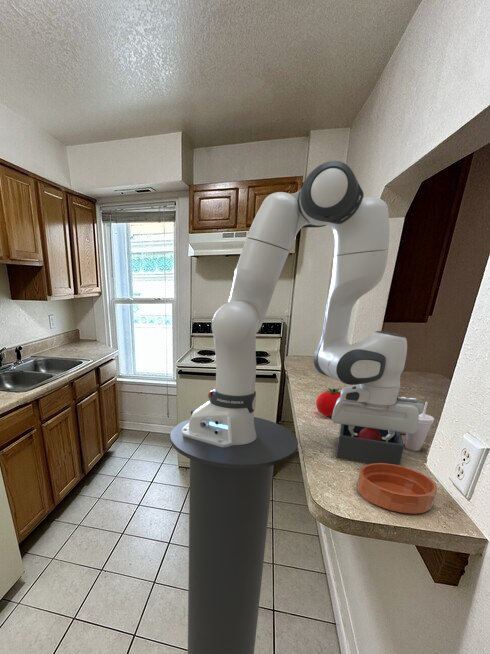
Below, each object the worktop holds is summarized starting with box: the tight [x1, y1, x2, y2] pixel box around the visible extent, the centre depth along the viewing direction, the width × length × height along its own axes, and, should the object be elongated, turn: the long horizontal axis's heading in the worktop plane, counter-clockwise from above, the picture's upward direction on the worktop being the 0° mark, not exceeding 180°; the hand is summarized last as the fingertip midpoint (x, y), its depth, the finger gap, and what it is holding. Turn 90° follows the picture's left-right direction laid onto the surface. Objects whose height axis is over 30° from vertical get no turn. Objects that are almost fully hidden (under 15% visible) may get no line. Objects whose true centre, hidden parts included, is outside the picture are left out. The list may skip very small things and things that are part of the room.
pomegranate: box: [357, 428, 382, 441], centre depth 97 cm, size 6×6×8 cm
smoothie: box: [404, 401, 435, 452], centre depth 99 cm, size 6×6×14 cm
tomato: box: [315, 387, 341, 418], centre depth 125 cm, size 10×10×10 cm
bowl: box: [356, 463, 438, 515], centre depth 78 cm, size 14×14×4 cm
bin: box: [335, 424, 405, 466], centre depth 98 cm, size 15×15×7 cm
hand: (368, 442), depth 98 cm, fingers closed on pomegranate, 6 cm apart
